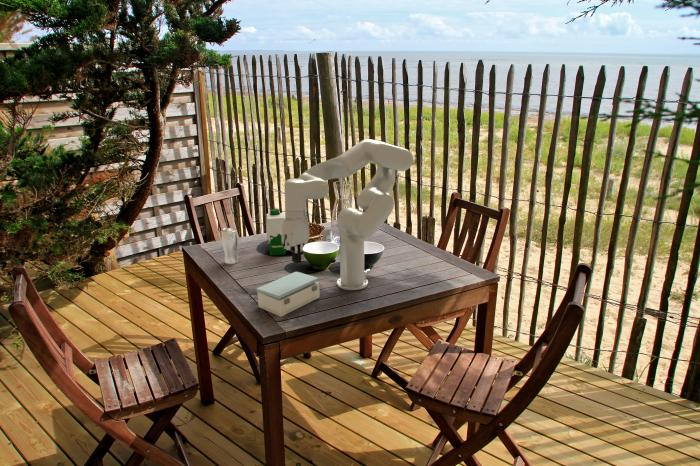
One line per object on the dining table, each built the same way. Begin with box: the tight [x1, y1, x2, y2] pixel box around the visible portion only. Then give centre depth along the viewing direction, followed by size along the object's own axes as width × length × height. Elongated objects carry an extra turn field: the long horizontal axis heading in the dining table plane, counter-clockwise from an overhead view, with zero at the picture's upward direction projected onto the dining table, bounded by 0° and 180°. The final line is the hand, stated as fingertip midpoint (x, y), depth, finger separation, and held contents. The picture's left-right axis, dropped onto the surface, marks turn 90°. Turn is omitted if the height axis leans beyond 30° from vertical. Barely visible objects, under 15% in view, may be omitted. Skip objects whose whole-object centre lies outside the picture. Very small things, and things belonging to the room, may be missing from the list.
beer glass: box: [220, 227, 239, 265], centre depth 232 cm, size 7×7×15 cm
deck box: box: [256, 281, 321, 317], centre depth 195 cm, size 20×13×6 cm, turn 140°
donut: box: [319, 227, 332, 241], centre depth 249 cm, size 10×4×10 cm, turn 91°
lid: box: [256, 271, 319, 299], centre depth 194 cm, size 20×12×1 cm, turn 140°
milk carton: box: [265, 208, 287, 256], centre depth 242 cm, size 9×9×20 cm
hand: (296, 261), depth 193 cm, fingers closed
